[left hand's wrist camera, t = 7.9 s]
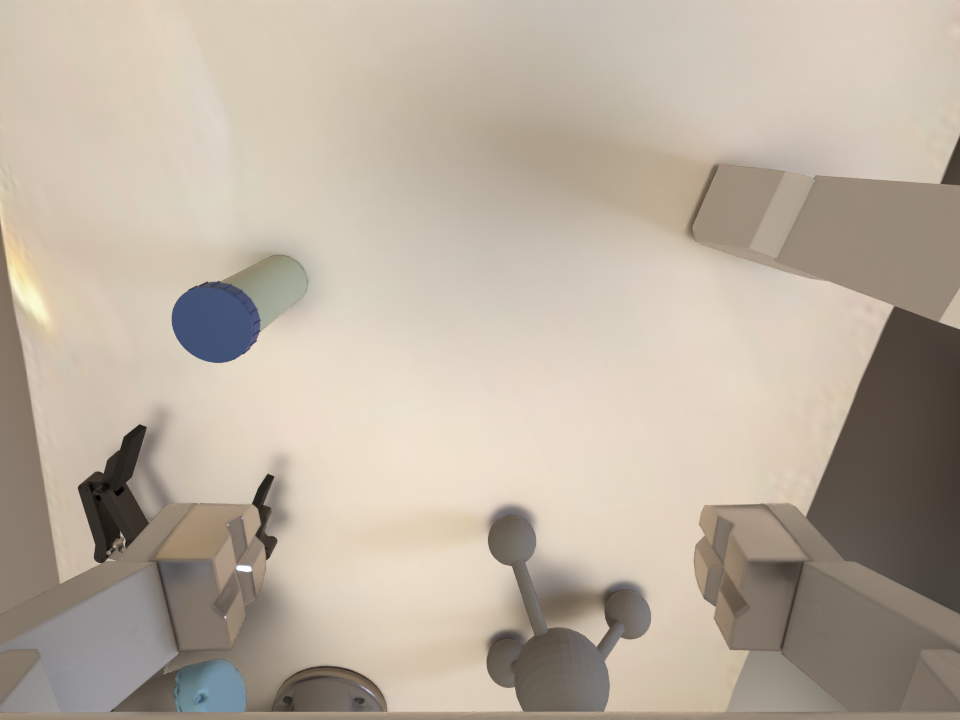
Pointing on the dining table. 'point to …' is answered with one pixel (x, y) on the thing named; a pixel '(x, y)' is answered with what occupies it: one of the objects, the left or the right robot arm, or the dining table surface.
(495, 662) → the molecular model
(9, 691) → the left robot arm
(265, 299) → the jar
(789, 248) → the electronic device
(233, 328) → the lid
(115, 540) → the right robot arm
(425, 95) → the dining table surface
